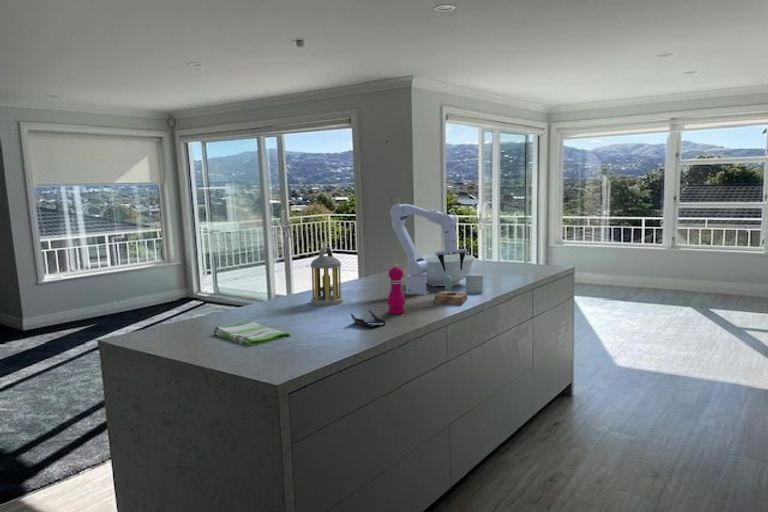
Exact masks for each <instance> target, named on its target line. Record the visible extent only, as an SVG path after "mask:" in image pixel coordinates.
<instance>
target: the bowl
mask: <svg viewBox="0 0 768 512" xmlns="http://www.w3.org/2000/svg"><path fill="white" fill-rule="evenodd" d="M420 255H421V256H422V257H423V258H424V260H425V261H427V262H428V264H429V269H428V271H427V274H426V280H427V282H428V285H429V286H430V285H432V286H431V287H435V286H445V276H451V286H452V287H456V286H455V285H457V286H458V284H459V285H460V281H462V280H464V279H466V274H470V272H471V270H472V266H473V261H475V258H476V257H475V256H474V255H470V254H465V257H464V260H463V265H462V270H461V268H460V254H453V255H444V264H445V271H444V270H443V266H442V264H441V262H440V260H439V258H438V256H436V255H435V253H430V254H420Z"/></svg>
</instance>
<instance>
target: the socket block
mask: <svg viewBox="0 0 768 512" xmlns="http://www.w3.org/2000/svg"><path fill="white" fill-rule="evenodd" d="M467 300H468V293H467V292H466V291H451V292H450V291H445V290H444V291H443V290H441V291H439V292H438V293H437V294H435V295H434V304H439V305H456V306H457V305H459V306H462V305H463V304H465V302H466V301H467Z"/></svg>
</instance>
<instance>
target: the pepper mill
mask: <svg viewBox="0 0 768 512" xmlns="http://www.w3.org/2000/svg"><path fill="white" fill-rule="evenodd" d="M388 277H389V278H390V280H389V281H390V282H389V283H390V285H391V286H390V292H389V295H388V298H387V303H386V304H388V306H389V308H388V313H389V314H390V313H394V314H393V315H401V314H400V313H402V314H404V313H405V308H404V306H405V305H406V298H405V296H404V294H403V291H402V284H403V279H402V278H403V277H404V271H403V269H402V268H400V267H399V265H398V263H394V264H393V267H391V268H390V269H389V271H388Z"/></svg>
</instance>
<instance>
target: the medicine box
mask: <svg viewBox="0 0 768 512" xmlns="http://www.w3.org/2000/svg"><path fill="white" fill-rule="evenodd" d="M483 278H484V277H483V274H480V273H479V274H478V273H473V274H470V273H469V274H466V277H465V292H467V294H483V293H484V289H483V288H484V285H483V284H484V283H483V282H484V279H483Z"/></svg>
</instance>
